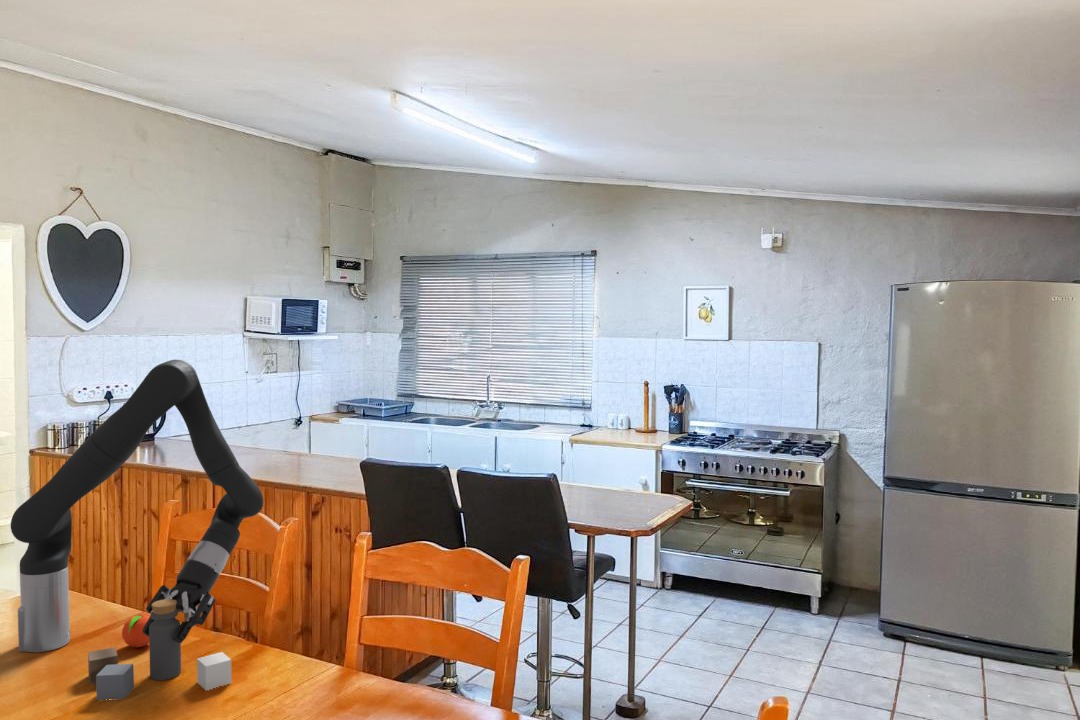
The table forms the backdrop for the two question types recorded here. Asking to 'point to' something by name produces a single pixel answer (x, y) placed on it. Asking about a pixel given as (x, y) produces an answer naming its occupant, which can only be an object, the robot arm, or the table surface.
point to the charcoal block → (115, 681)
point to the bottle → (164, 641)
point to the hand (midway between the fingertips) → (161, 637)
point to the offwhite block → (214, 671)
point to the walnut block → (100, 661)
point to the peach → (135, 631)
